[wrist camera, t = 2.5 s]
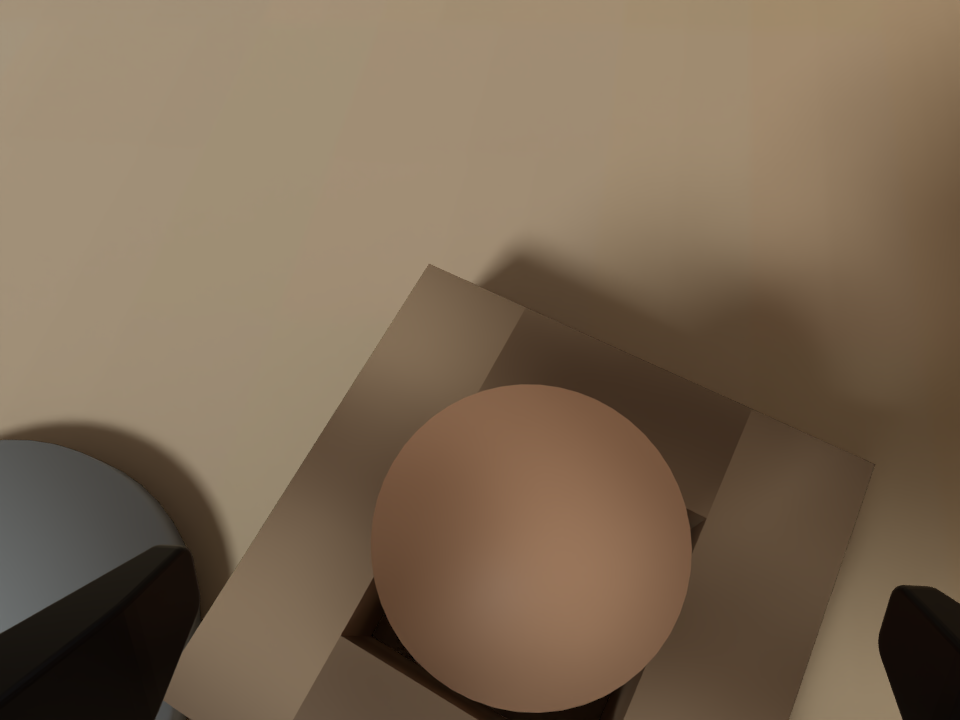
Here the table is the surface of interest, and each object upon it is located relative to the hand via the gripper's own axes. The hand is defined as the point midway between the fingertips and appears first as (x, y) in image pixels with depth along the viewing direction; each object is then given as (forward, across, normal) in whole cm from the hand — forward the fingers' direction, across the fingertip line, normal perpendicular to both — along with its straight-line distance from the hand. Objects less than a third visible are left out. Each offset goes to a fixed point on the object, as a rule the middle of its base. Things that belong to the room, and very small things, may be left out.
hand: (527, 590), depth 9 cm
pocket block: (+6, 0, +6) cm, 9 cm away
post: (+6, 0, +6) cm, 9 cm away
